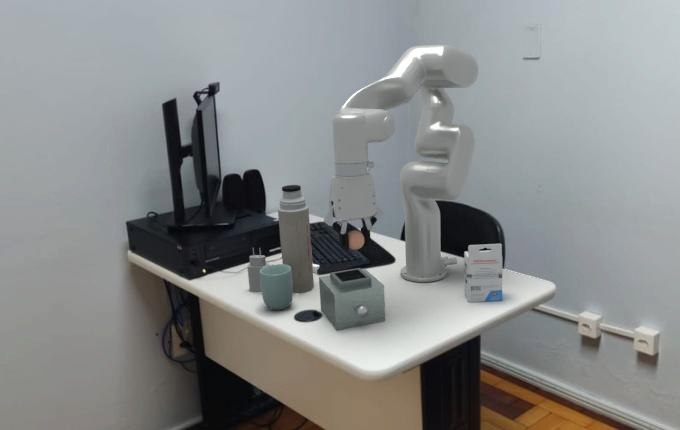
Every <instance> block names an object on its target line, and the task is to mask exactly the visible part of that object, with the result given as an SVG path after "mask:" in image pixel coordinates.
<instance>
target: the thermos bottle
mask: <svg viewBox="0 0 680 430" xmlns="http://www.w3.org/2000/svg"><path fill="white" fill-rule="evenodd" d="M301 189H302V186H301V185H299V184H289V185H288V184H287V185H284V186H281V191H282V197H281V199H279V207H278V208H277V217H278V227H279V228H278V229H279V239H280V251H281V261H282V264H285V265H289V266H290V267H291V269H292V280H293V294H302V293H307V292H310V291H312V290H314V287H315V283H314V281H315V280H314V273H313V265H312V263H313V254H312V253H313V251H311V249H312V240H311V224H310V222H311V221H310V212H309V211H310V210H309V206H308V205H307V204H306V203H307V201H306V198H305V197H304V196H302V190H301Z"/></svg>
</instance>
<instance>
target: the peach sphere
mask: <svg viewBox="0 0 680 430" xmlns="http://www.w3.org/2000/svg"><path fill="white" fill-rule="evenodd" d="M347 234H348V239H349V249H351V250H360V249H361V248H362V247H364V242H365V238H364V235H363V234H362V233H361V230H357V229H356V230H351V231H349V232H348V233H347Z"/></svg>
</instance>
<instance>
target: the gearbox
mask: <svg viewBox="0 0 680 430" xmlns="http://www.w3.org/2000/svg"><path fill="white" fill-rule="evenodd" d="M318 283H319V299H320V311H321V312H322V314H323V315H324V316H325V318H326V319H327V320H328V321H329V322H330V324H331V325H332V327H333V328H334V330H335V331H340V330H341V331H342V330H344V329H345V330H346V329H350V328H355V327H361V326H366V325H371V324H375V323H381V322H385V321H386V302H385V300H386V299H385V285H384V284H383V282H381V281H380V280H379V279H377V278H376V277H375V276H374V275H373V274H372V273H371V272H370V271H368V269H366V268H363V269H362V268H361V267H356V268H350V269H345V270H339V271H334V272H332V271H331V272H330V273H329V275H321V276H318Z"/></svg>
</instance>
